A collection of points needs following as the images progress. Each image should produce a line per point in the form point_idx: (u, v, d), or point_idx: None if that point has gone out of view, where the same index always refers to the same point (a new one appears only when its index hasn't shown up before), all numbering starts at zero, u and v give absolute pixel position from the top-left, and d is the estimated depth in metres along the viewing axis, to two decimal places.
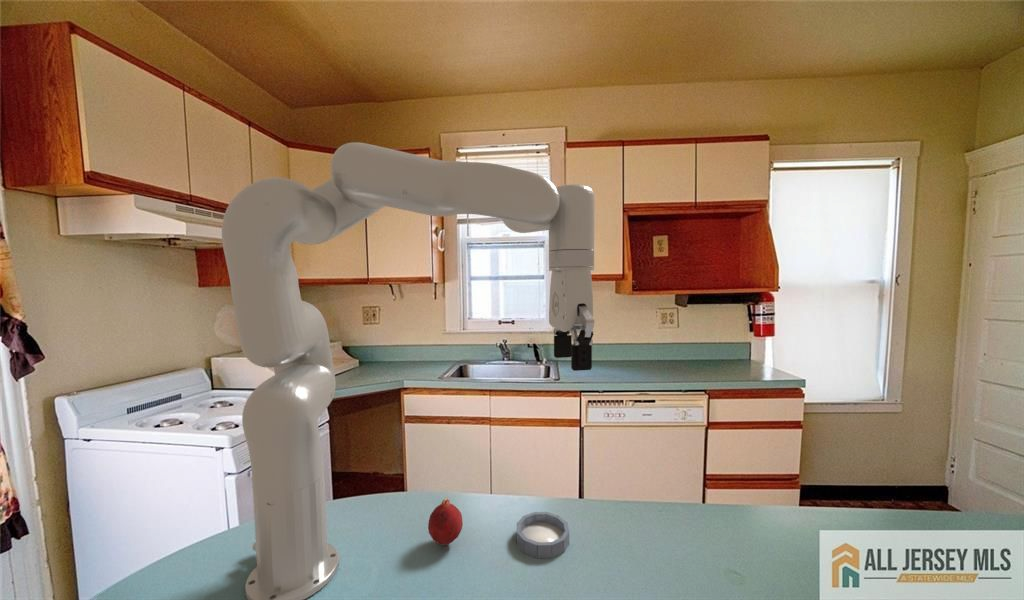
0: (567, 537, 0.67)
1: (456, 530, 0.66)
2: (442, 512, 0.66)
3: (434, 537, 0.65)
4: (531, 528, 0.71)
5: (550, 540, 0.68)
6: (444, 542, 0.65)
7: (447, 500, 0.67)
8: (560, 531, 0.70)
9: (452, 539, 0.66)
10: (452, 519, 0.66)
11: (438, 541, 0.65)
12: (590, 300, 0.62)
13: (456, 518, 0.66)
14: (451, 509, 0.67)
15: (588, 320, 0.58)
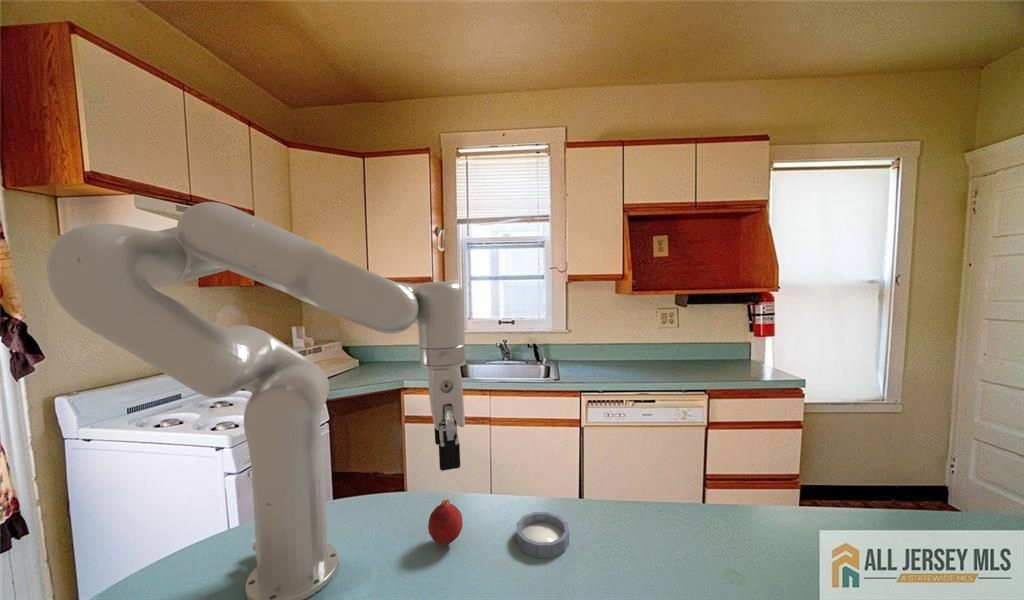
0: (567, 537, 0.67)
1: (456, 530, 0.66)
2: (442, 512, 0.66)
3: (434, 537, 0.65)
4: (531, 528, 0.71)
5: (550, 540, 0.68)
6: (444, 542, 0.65)
7: (447, 500, 0.67)
8: (560, 531, 0.70)
9: (452, 539, 0.66)
10: (451, 519, 0.66)
11: (438, 541, 0.65)
12: None
13: (456, 518, 0.66)
14: (451, 509, 0.67)
15: None
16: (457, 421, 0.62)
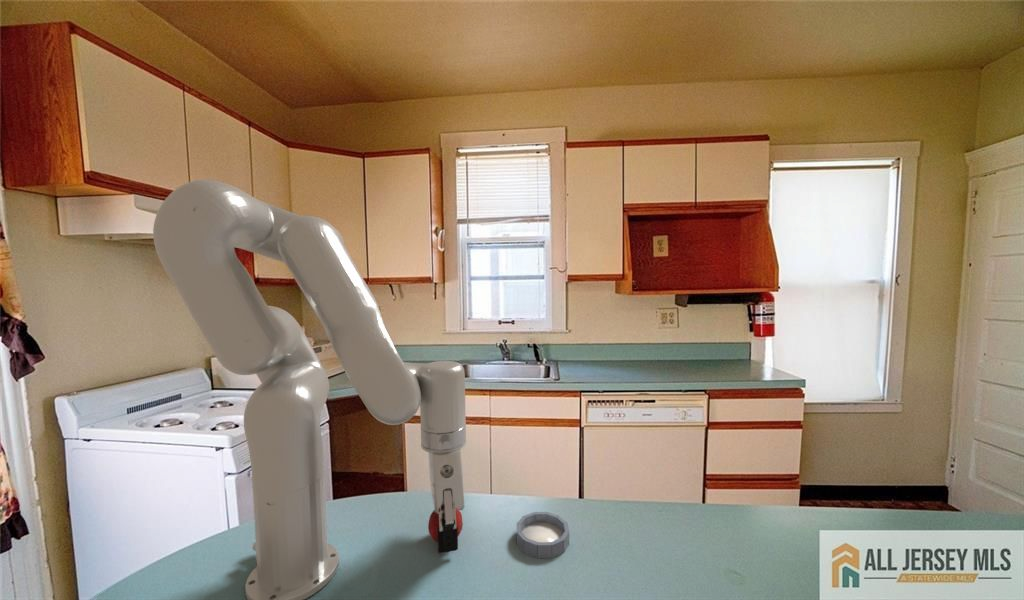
0: (567, 537, 0.67)
1: None
2: None
3: (434, 537, 0.65)
4: (531, 528, 0.71)
5: (550, 540, 0.68)
6: None
7: None
8: (560, 531, 0.70)
9: None
10: None
11: None
12: None
13: (456, 518, 0.66)
14: None
15: None
16: None
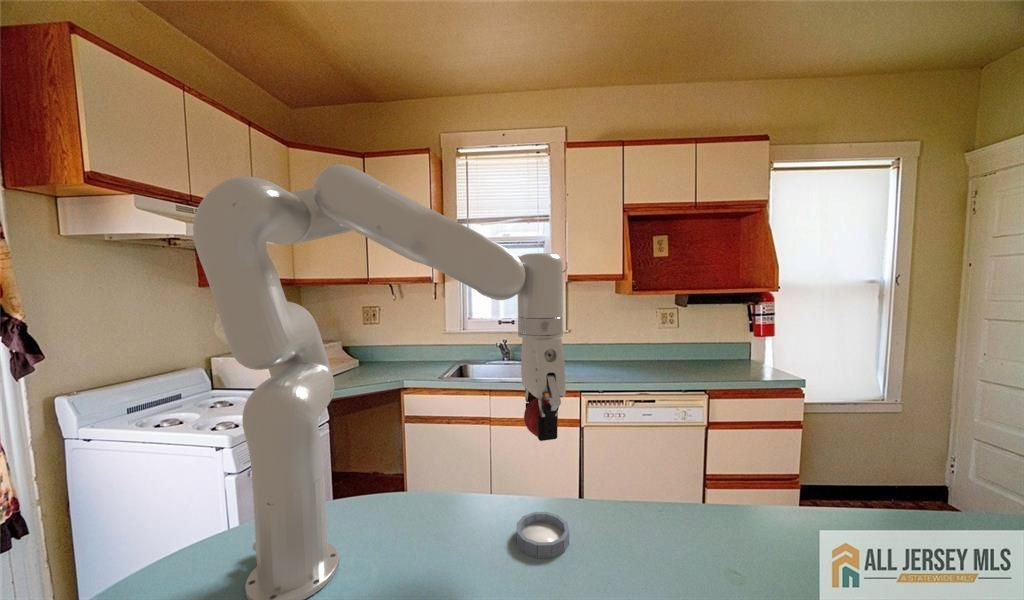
0: (567, 537, 0.67)
1: None
2: None
3: (533, 426, 0.65)
4: (531, 528, 0.71)
5: (550, 540, 0.68)
6: None
7: (543, 393, 0.67)
8: (560, 531, 0.70)
9: None
10: None
11: (537, 431, 0.65)
12: None
13: None
14: (548, 401, 0.67)
15: None
16: None
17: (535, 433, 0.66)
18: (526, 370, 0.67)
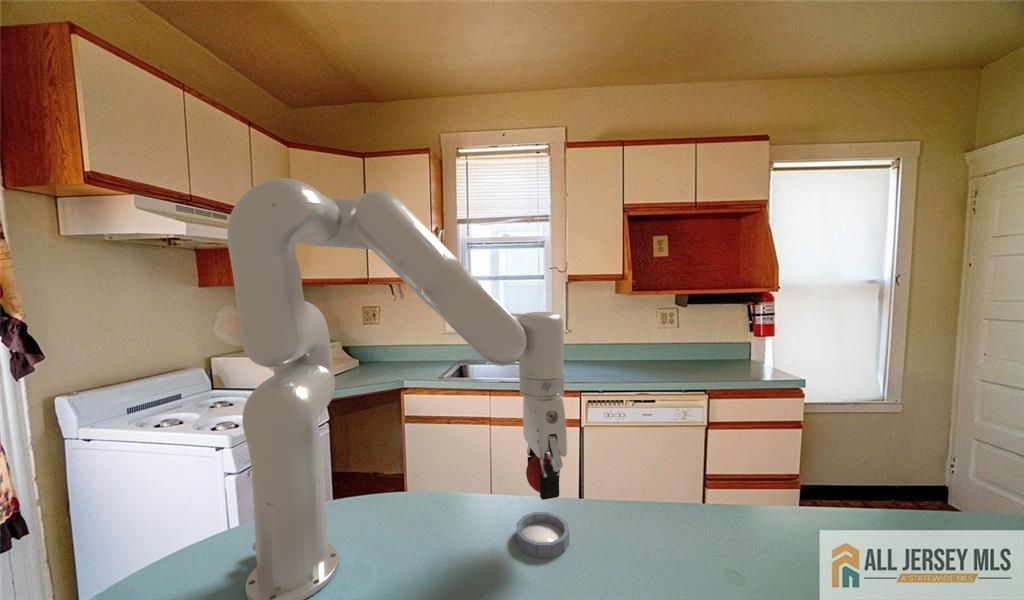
0: (567, 537, 0.67)
1: None
2: None
3: (535, 484, 0.66)
4: (531, 528, 0.71)
5: (550, 540, 0.68)
6: None
7: None
8: (560, 531, 0.70)
9: None
10: None
11: (539, 488, 0.66)
12: None
13: None
14: None
15: None
16: None
17: (537, 490, 0.66)
18: (528, 427, 0.67)
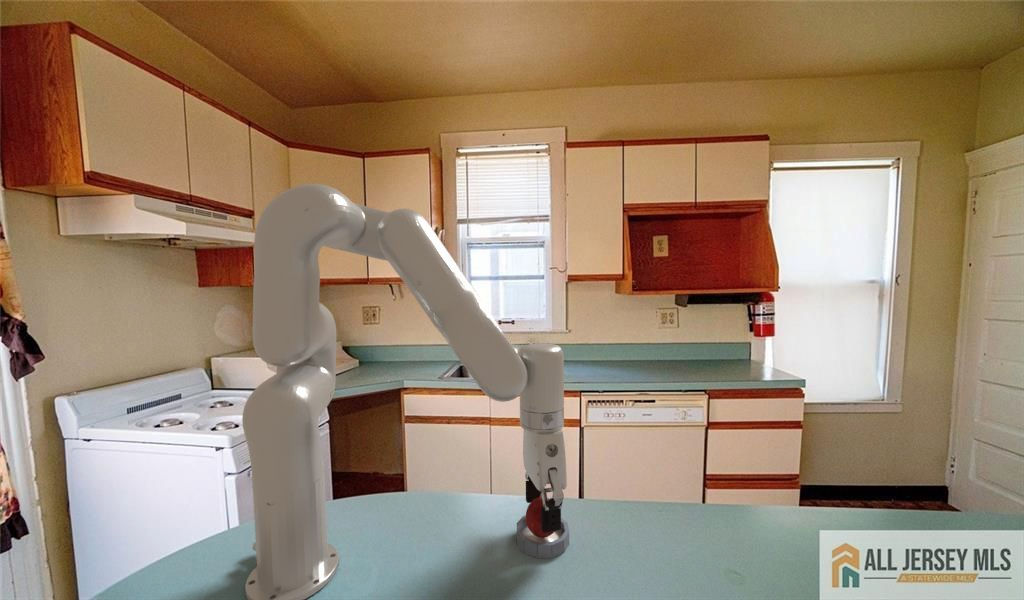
0: (567, 537, 0.67)
1: None
2: (542, 506, 0.66)
3: (535, 531, 0.66)
4: None
5: (550, 540, 0.68)
6: (545, 535, 0.66)
7: None
8: (560, 531, 0.70)
9: (552, 533, 0.66)
10: None
11: (538, 535, 0.66)
12: None
13: None
14: None
15: None
16: (560, 486, 0.64)
17: None
18: (528, 458, 0.68)
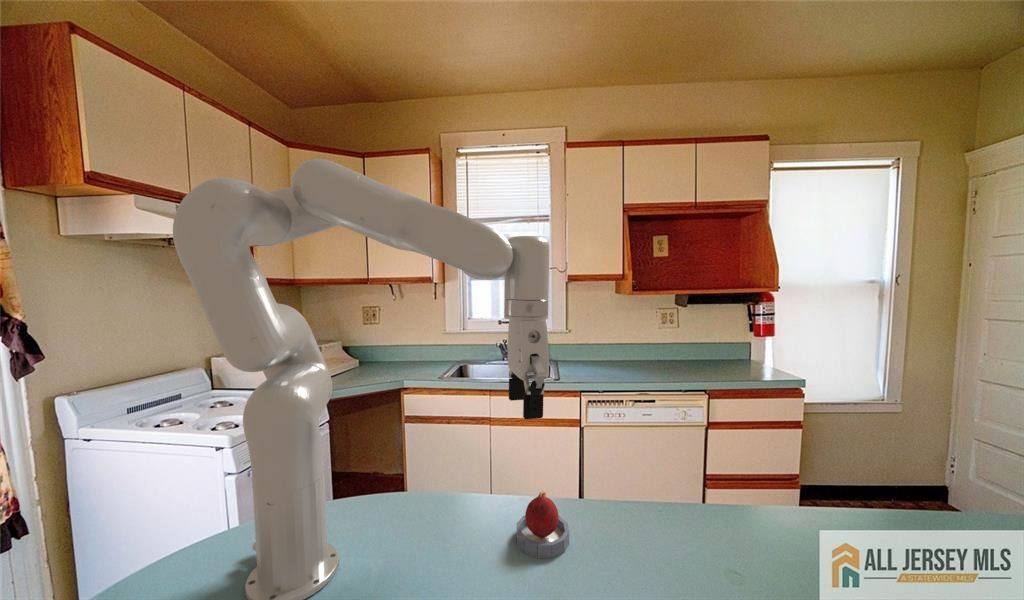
0: (567, 537, 0.67)
1: (555, 523, 0.66)
2: (541, 504, 0.67)
3: (534, 530, 0.66)
4: None
5: (550, 540, 0.68)
6: (544, 534, 0.66)
7: (543, 493, 0.68)
8: (560, 531, 0.70)
9: (551, 531, 0.66)
10: (551, 512, 0.66)
11: (538, 533, 0.66)
12: None
13: (554, 511, 0.67)
14: (548, 502, 0.68)
15: None
16: None
17: (536, 535, 0.67)
18: (511, 352, 0.67)
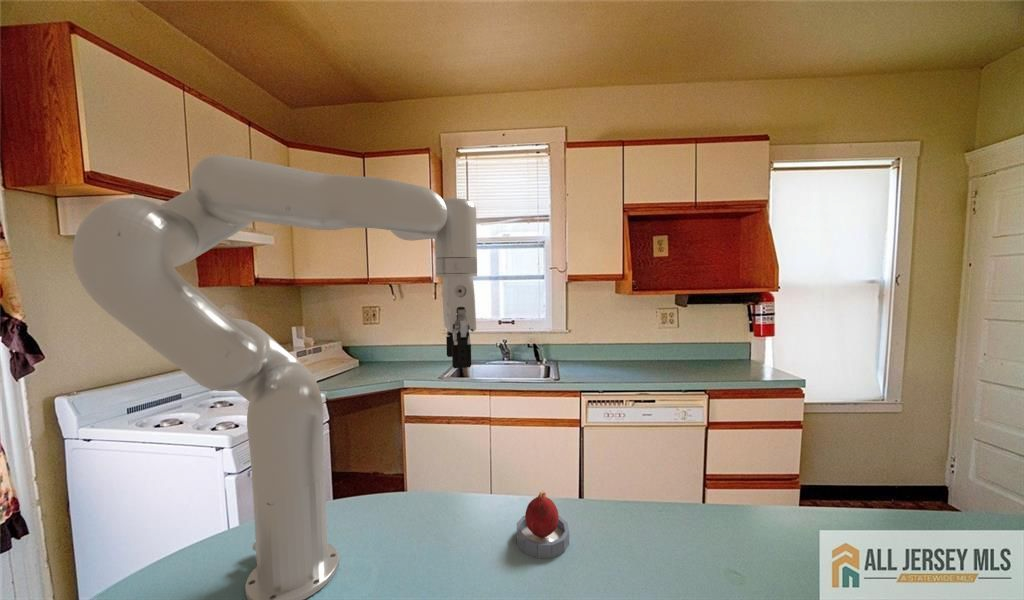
0: (567, 537, 0.67)
1: (555, 523, 0.66)
2: (541, 504, 0.67)
3: (534, 530, 0.66)
4: None
5: (550, 540, 0.68)
6: (544, 534, 0.66)
7: (543, 493, 0.68)
8: (560, 531, 0.70)
9: (551, 531, 0.66)
10: (551, 512, 0.66)
11: (538, 533, 0.66)
12: None
13: (554, 511, 0.67)
14: (548, 502, 0.68)
15: None
16: (469, 324, 0.68)
17: (536, 535, 0.67)
18: (443, 308, 0.72)
